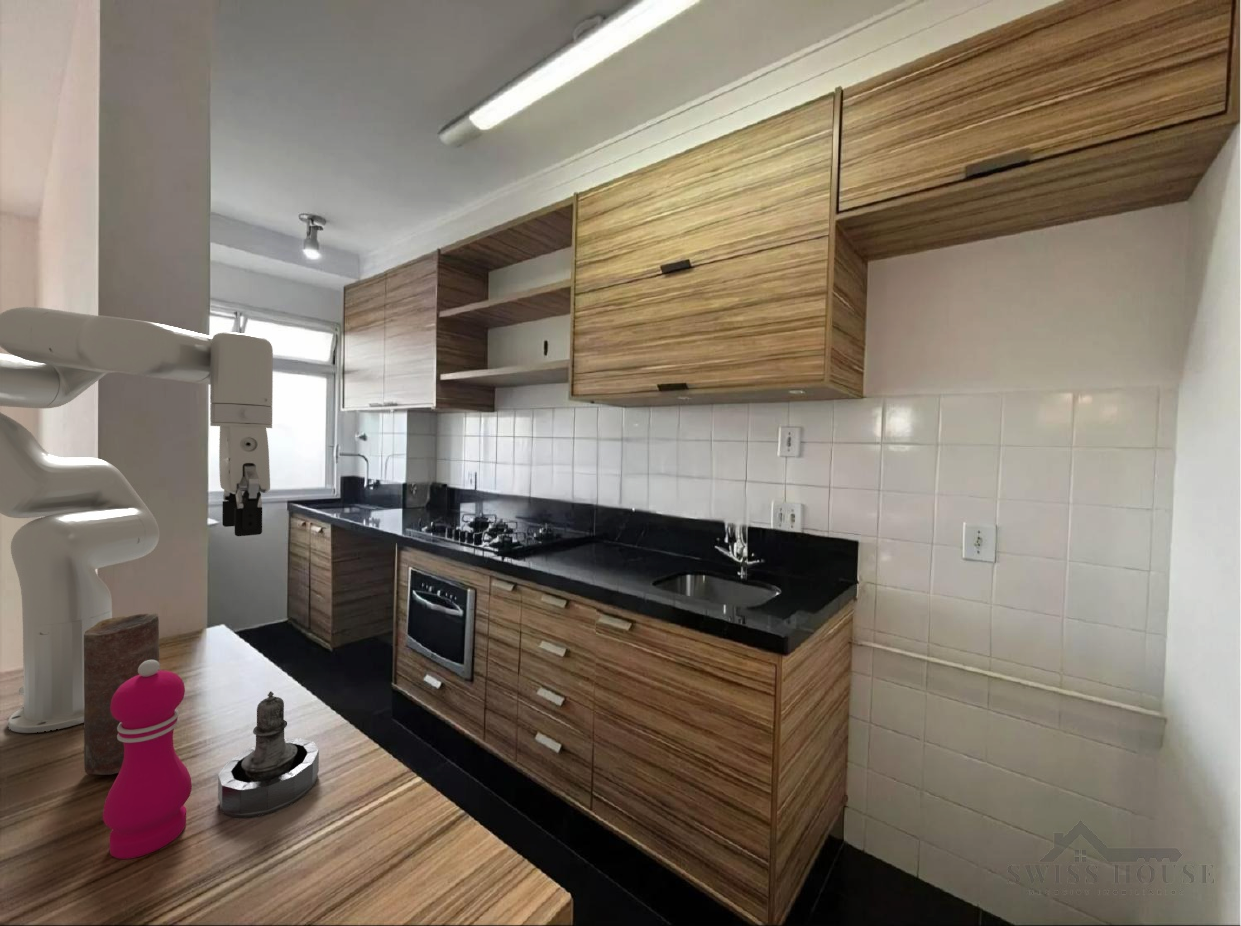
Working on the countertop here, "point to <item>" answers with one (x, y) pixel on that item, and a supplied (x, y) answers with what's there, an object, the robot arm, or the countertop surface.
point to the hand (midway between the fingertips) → (241, 530)
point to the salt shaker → (269, 743)
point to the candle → (112, 682)
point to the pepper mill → (147, 765)
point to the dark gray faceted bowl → (267, 783)
